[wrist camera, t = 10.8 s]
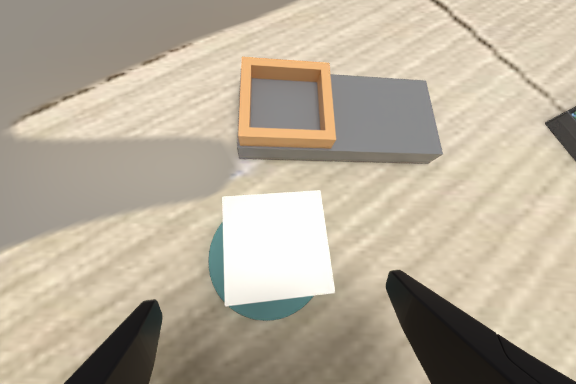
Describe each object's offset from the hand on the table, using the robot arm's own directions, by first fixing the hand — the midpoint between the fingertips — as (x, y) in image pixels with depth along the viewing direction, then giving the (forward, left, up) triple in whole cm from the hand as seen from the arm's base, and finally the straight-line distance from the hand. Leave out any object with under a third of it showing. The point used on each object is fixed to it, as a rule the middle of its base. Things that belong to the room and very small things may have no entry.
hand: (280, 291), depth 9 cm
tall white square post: (+1, +1, -9) cm, 10 cm away
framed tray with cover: (+15, +3, -10) cm, 18 cm away
